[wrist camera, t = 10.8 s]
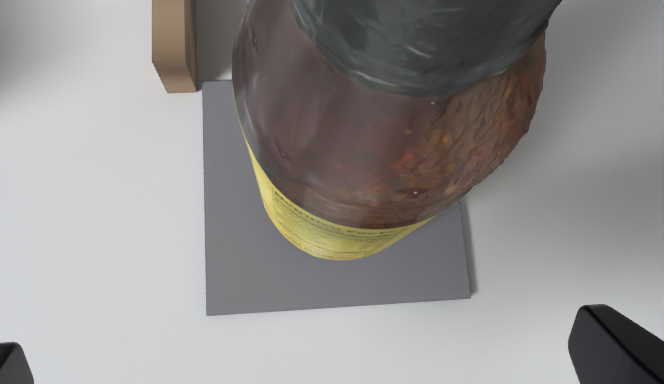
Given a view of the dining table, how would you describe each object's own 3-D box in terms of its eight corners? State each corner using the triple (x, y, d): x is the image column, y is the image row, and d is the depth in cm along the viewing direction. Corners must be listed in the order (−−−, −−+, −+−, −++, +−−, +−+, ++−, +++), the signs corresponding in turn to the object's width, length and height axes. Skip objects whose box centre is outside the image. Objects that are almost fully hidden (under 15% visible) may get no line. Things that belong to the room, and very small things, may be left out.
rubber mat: (467, 298, 23) (470, 298, 23) (207, 315, 22) (206, 315, 22) (442, 79, 26) (444, 75, 25) (203, 85, 24) (202, 81, 24)
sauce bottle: (329, 89, 25) (507, -783, 5) (443, 184, 24) (1103, -395, 5) (223, 201, 23) (-77, -443, 4) (341, 305, 22) (696, 181, 3)
